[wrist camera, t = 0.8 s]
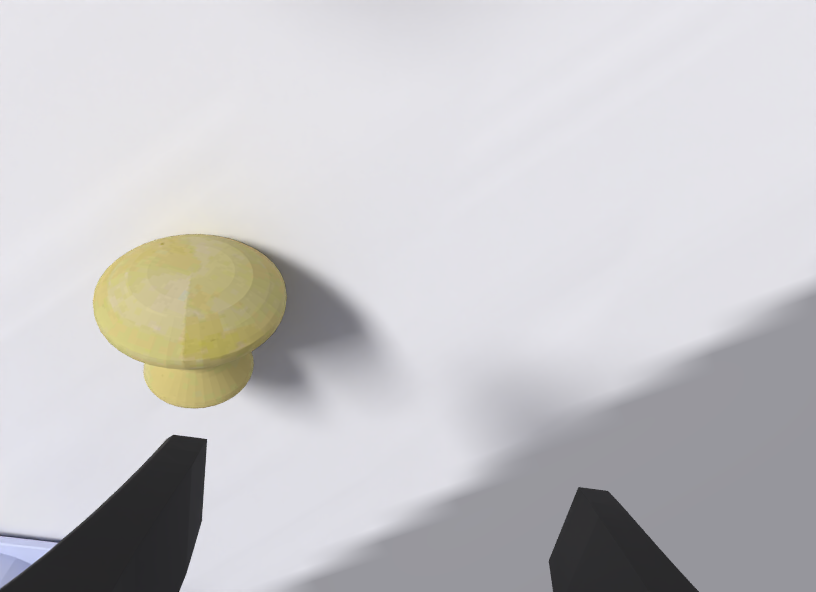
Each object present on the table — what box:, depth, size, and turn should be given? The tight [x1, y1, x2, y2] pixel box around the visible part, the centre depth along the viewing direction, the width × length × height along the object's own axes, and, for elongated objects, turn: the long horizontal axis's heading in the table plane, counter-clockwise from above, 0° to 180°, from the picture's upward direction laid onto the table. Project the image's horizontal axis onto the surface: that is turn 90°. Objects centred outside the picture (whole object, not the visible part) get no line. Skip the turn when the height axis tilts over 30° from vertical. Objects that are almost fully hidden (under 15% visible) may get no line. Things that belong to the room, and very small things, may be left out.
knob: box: [93, 234, 287, 408], centre depth 18 cm, size 5×5×5 cm
